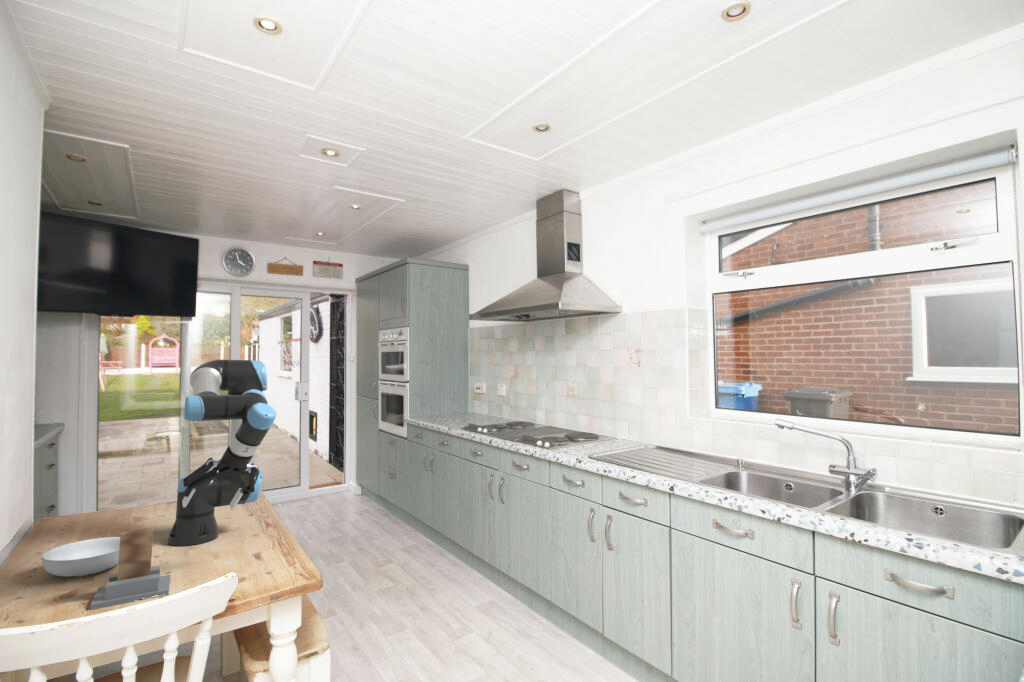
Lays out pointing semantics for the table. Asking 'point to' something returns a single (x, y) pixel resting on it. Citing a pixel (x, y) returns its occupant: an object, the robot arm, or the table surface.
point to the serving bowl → (82, 557)
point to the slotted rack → (131, 589)
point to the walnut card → (135, 554)
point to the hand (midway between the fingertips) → (208, 505)
